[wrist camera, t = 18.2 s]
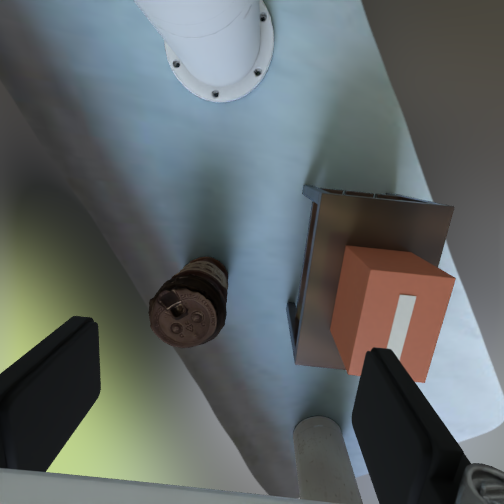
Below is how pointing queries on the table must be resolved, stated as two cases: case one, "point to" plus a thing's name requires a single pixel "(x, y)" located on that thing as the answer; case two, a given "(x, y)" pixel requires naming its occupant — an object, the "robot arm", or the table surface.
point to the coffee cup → (191, 304)
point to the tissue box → (389, 308)
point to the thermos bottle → (324, 463)
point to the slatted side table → (333, 248)
